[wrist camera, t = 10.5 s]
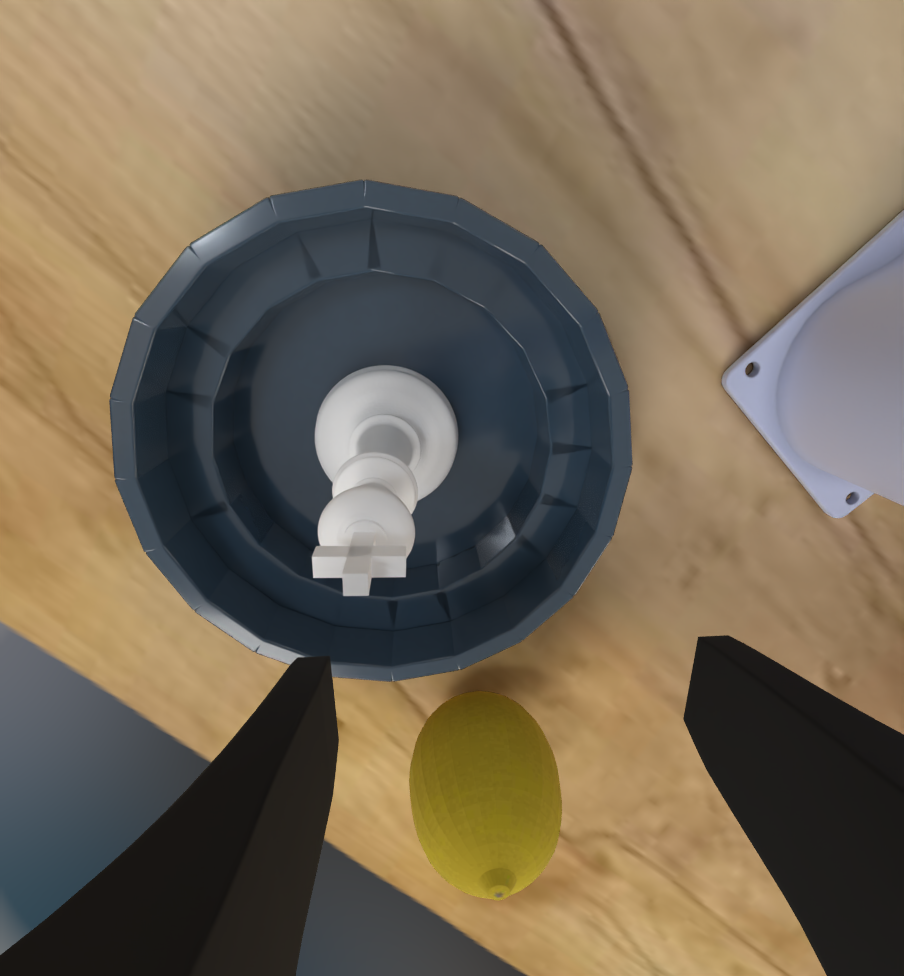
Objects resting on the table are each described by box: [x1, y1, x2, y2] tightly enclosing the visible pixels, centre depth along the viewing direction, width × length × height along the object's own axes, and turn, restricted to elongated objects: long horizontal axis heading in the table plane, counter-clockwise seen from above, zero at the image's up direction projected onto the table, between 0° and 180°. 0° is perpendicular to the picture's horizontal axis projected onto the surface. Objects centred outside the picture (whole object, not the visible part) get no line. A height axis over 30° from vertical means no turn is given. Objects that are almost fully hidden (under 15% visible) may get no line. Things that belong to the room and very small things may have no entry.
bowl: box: [109, 179, 632, 682], centre depth 17 cm, size 14×14×5 cm
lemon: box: [409, 691, 562, 900], centre depth 20 cm, size 6×6×8 cm
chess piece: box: [312, 365, 458, 596], centre depth 14 cm, size 5×5×10 cm
